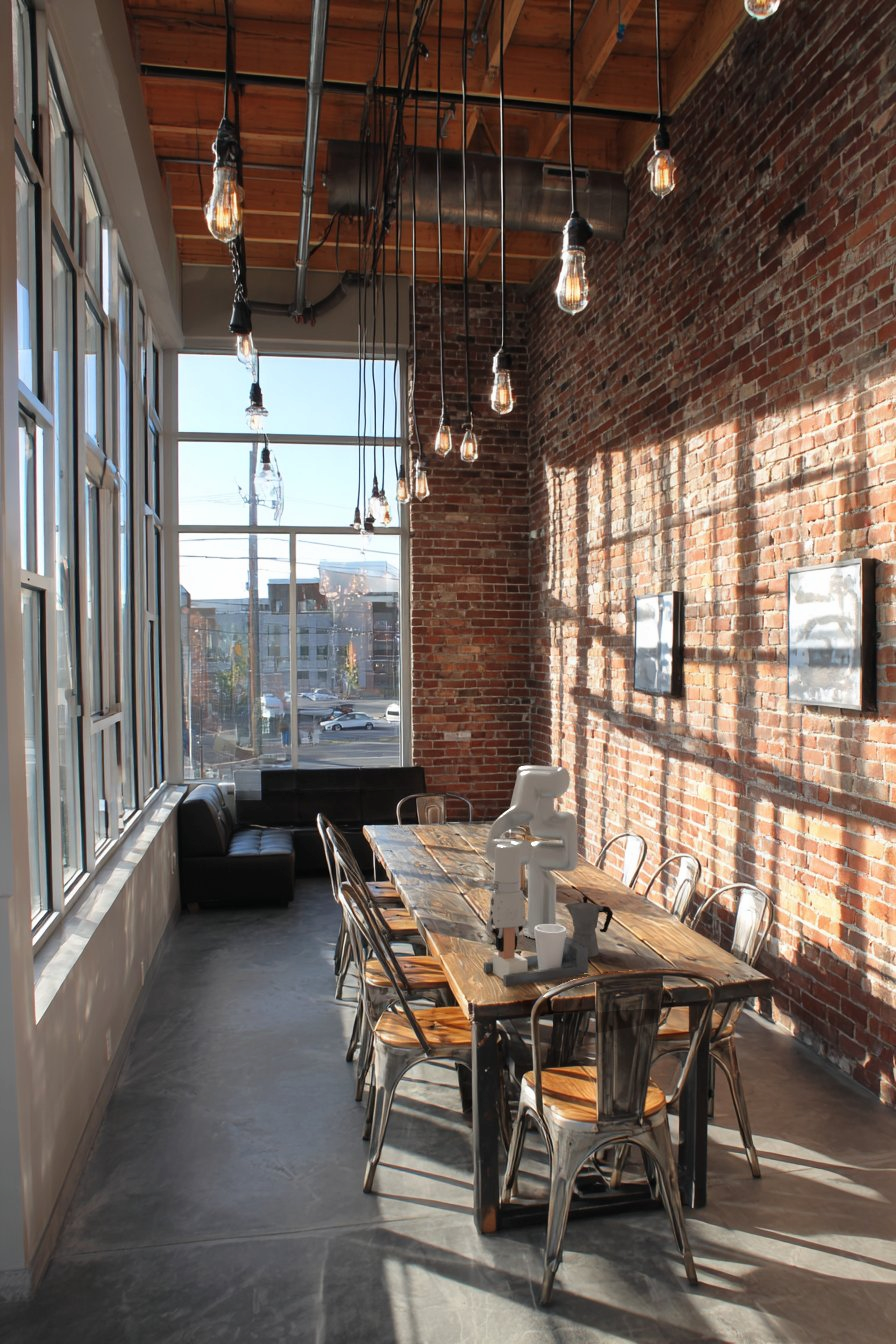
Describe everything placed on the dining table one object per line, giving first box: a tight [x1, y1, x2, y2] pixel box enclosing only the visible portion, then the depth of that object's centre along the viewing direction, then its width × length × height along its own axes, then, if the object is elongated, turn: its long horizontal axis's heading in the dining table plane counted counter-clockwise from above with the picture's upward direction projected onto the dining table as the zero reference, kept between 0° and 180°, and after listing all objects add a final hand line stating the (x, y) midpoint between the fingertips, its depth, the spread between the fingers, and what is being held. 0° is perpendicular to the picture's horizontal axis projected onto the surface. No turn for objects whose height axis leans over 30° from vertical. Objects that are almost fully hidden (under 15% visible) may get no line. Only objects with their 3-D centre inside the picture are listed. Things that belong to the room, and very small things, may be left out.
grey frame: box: [483, 935, 589, 987], centre depth 279 cm, size 14×28×8 cm, turn 115°
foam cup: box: [534, 924, 567, 970], centre depth 281 cm, size 10×9×13 cm
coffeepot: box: [564, 896, 614, 958], centre depth 300 cm, size 15×9×18 cm, turn 69°
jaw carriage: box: [492, 927, 528, 980], centre depth 276 cm, size 10×6×18 cm, turn 25°
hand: (506, 949), depth 275 cm, fingers closed on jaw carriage, 3 cm apart
